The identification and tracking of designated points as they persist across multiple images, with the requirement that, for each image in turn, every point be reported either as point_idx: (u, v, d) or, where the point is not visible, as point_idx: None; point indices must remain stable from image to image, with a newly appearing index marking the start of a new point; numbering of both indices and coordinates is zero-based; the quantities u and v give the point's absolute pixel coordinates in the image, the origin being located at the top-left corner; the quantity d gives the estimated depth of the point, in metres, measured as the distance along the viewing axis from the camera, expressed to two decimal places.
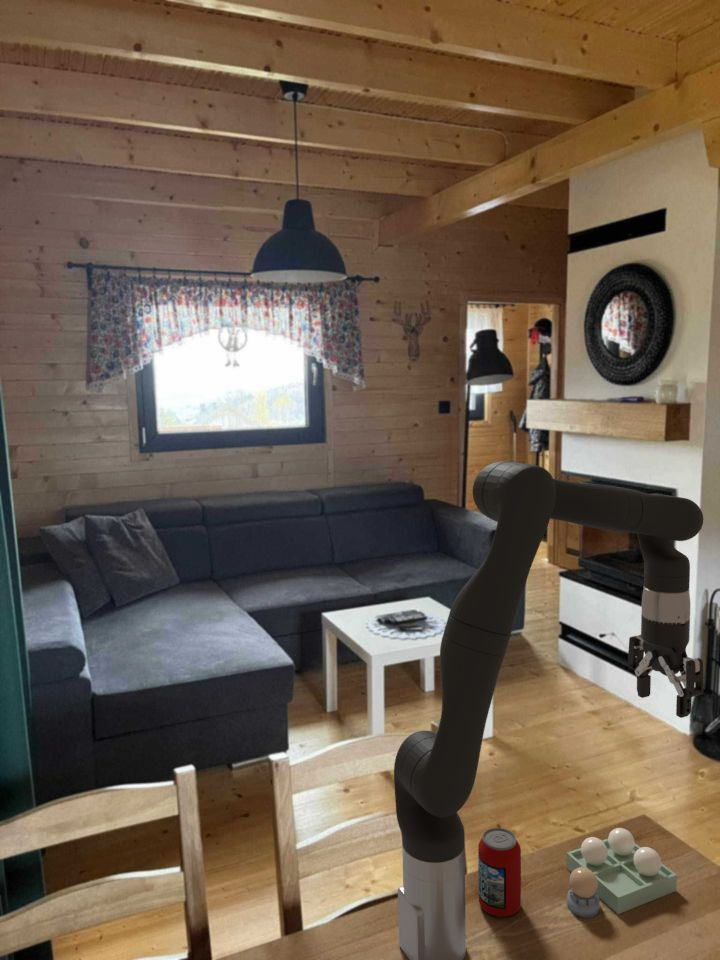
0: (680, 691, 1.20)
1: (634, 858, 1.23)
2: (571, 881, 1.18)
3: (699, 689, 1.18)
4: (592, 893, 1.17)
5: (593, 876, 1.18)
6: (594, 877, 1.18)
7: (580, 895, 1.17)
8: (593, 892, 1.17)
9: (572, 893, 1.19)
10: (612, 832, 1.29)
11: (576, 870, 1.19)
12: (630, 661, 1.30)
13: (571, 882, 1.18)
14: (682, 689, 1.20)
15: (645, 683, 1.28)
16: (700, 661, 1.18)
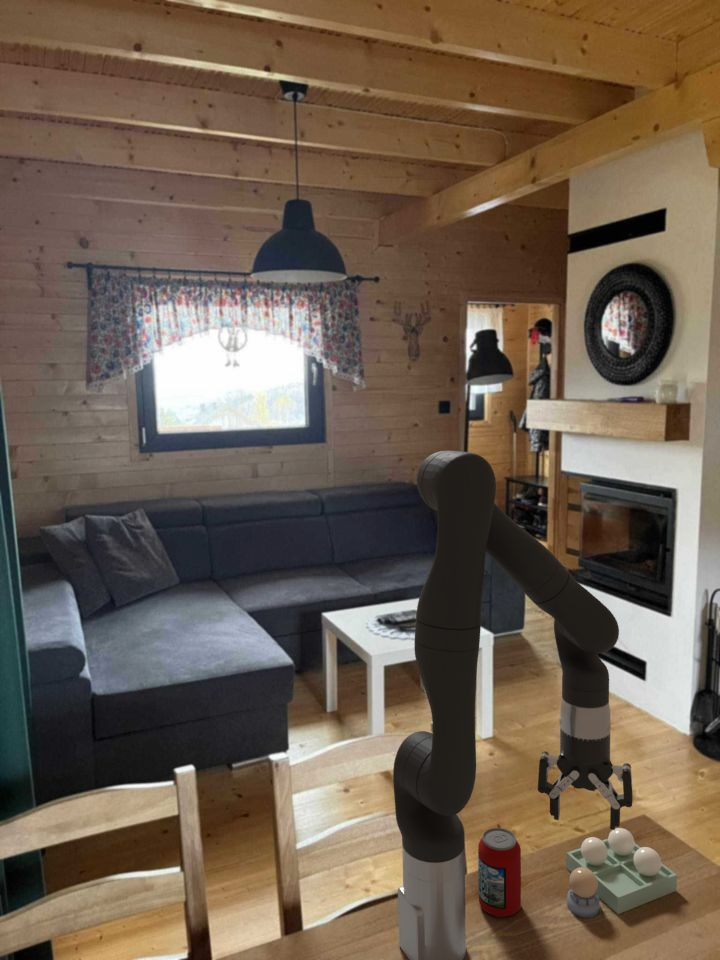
0: None
1: (634, 858, 1.23)
2: (571, 881, 1.18)
3: None
4: (592, 893, 1.17)
5: (593, 876, 1.18)
6: (594, 877, 1.18)
7: (580, 895, 1.17)
8: (593, 892, 1.17)
9: (572, 893, 1.19)
10: (612, 832, 1.29)
11: (576, 870, 1.19)
12: None
13: (571, 882, 1.18)
14: (553, 783, 1.19)
15: None
16: (540, 758, 1.18)
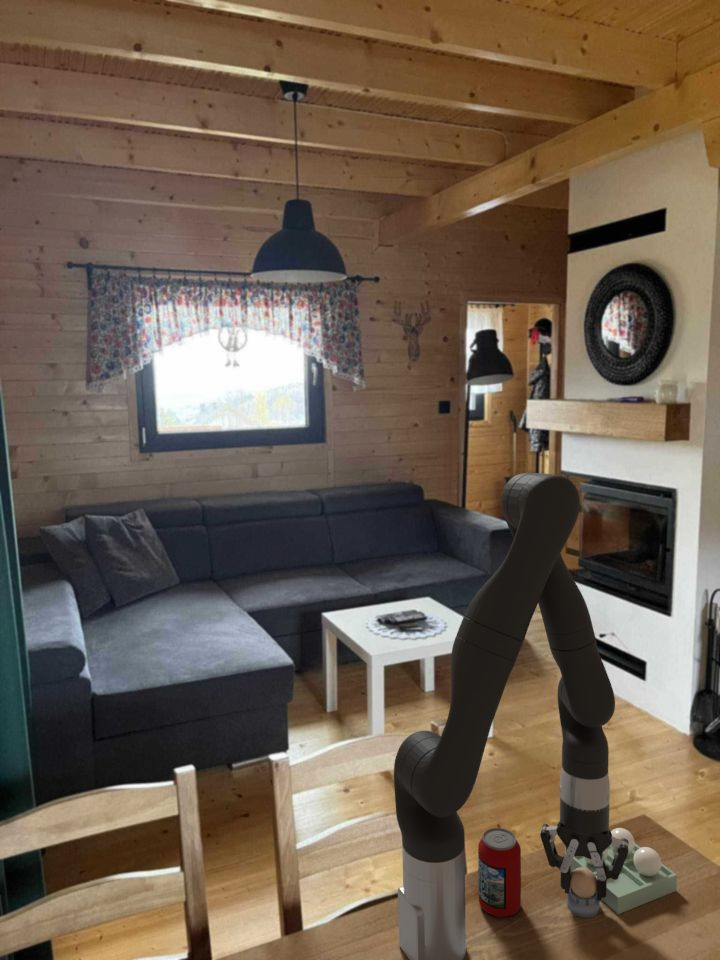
0: None
1: (634, 858, 1.23)
2: (571, 881, 1.18)
3: None
4: (592, 893, 1.17)
5: (593, 876, 1.18)
6: (594, 877, 1.18)
7: (580, 895, 1.17)
8: (593, 892, 1.17)
9: (572, 893, 1.19)
10: (612, 832, 1.29)
11: (576, 870, 1.19)
12: None
13: (571, 882, 1.18)
14: (564, 856, 1.20)
15: None
16: None
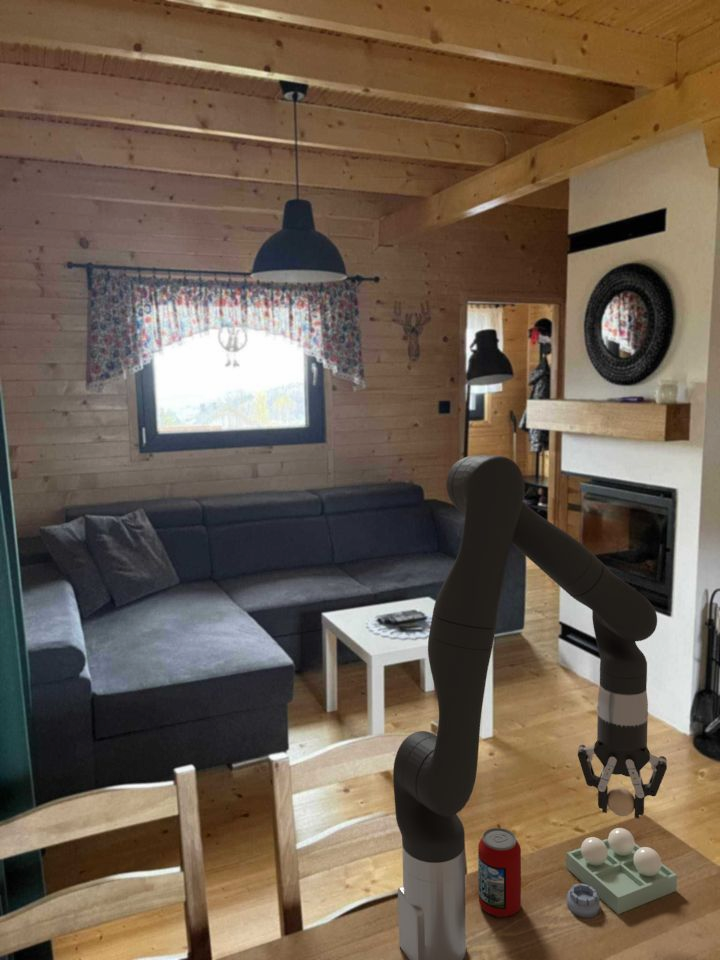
0: None
1: (634, 858, 1.23)
2: (609, 800, 1.19)
3: None
4: (630, 810, 1.17)
5: (631, 794, 1.18)
6: (632, 795, 1.18)
7: (618, 813, 1.18)
8: (631, 809, 1.17)
9: (572, 893, 1.19)
10: (612, 832, 1.29)
11: (613, 789, 1.19)
12: None
13: (609, 800, 1.19)
14: (600, 777, 1.21)
15: None
16: (578, 752, 1.20)
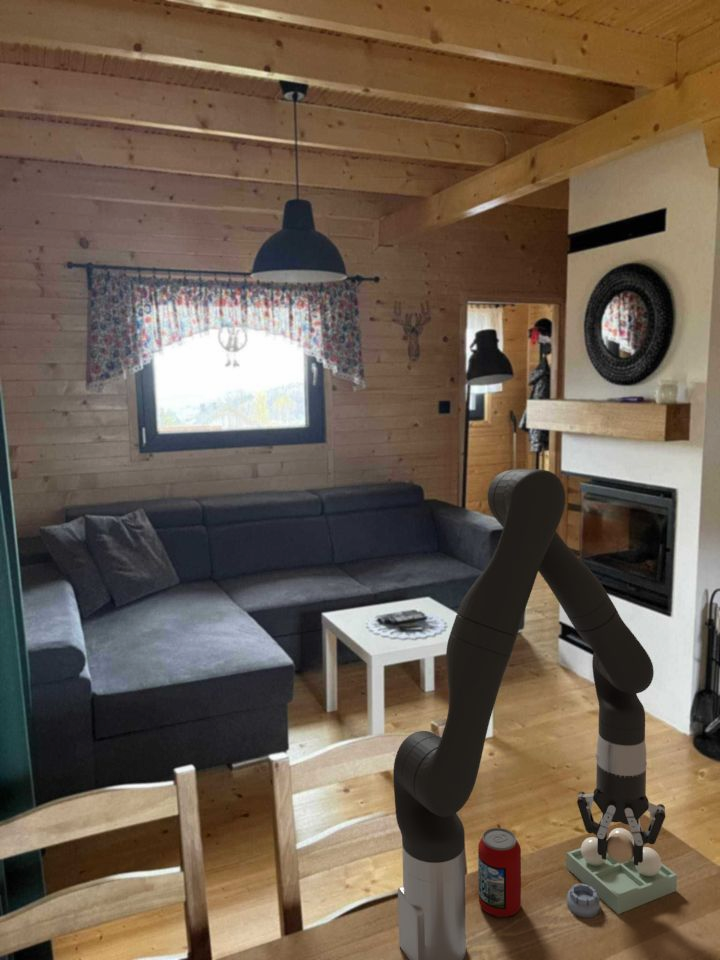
0: None
1: None
2: (608, 847, 1.20)
3: None
4: (629, 858, 1.19)
5: (630, 841, 1.20)
6: (631, 842, 1.20)
7: (617, 860, 1.19)
8: (630, 857, 1.19)
9: (572, 893, 1.19)
10: (612, 832, 1.29)
11: (613, 836, 1.21)
12: None
13: (608, 847, 1.20)
14: (600, 823, 1.22)
15: None
16: (577, 799, 1.21)
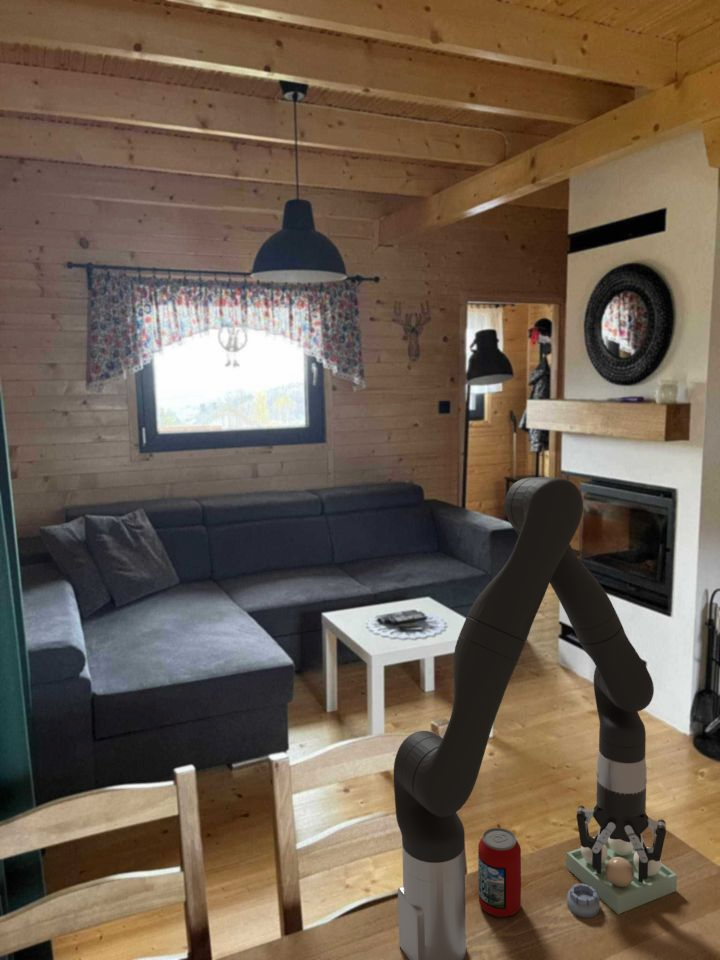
0: (596, 839, 1.23)
1: (634, 858, 1.23)
2: (608, 871, 1.20)
3: None
4: (628, 882, 1.19)
5: (629, 865, 1.20)
6: (630, 866, 1.20)
7: (617, 884, 1.19)
8: (629, 881, 1.19)
9: (572, 893, 1.19)
10: None
11: (612, 859, 1.21)
12: None
13: (607, 871, 1.20)
14: (595, 837, 1.23)
15: None
16: (577, 813, 1.21)
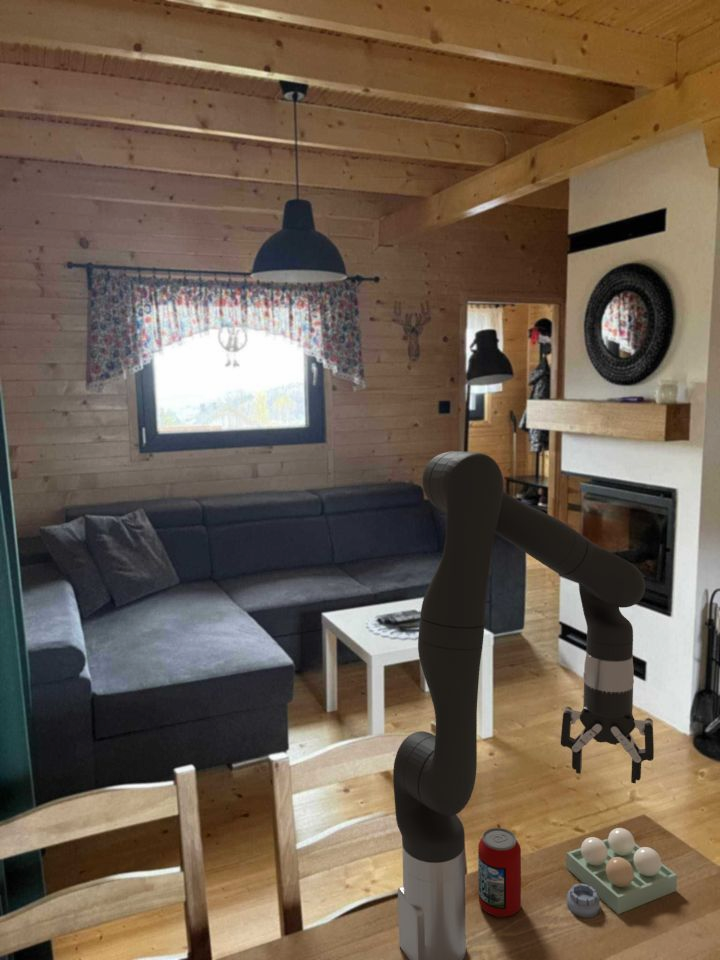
0: (576, 740, 1.23)
1: (634, 858, 1.23)
2: (608, 871, 1.20)
3: None
4: (628, 882, 1.19)
5: (629, 865, 1.20)
6: (630, 866, 1.20)
7: (617, 884, 1.19)
8: (629, 881, 1.19)
9: (572, 893, 1.19)
10: (612, 832, 1.29)
11: (612, 860, 1.21)
12: None
13: (607, 871, 1.20)
14: (575, 738, 1.23)
15: None
16: (564, 712, 1.21)
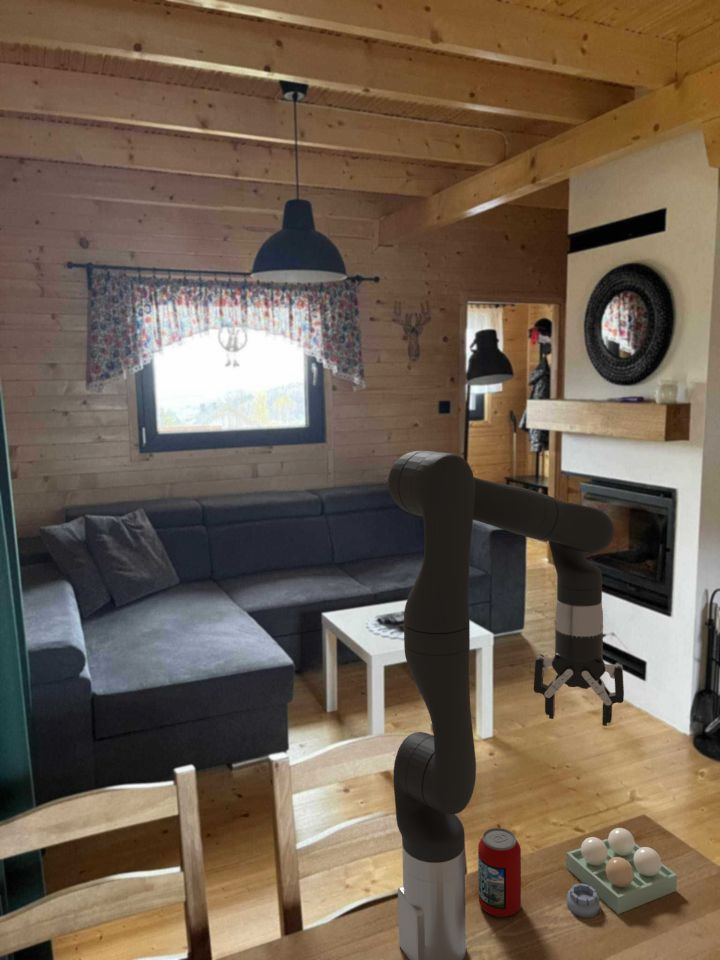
0: (549, 687, 1.25)
1: (634, 858, 1.23)
2: (608, 871, 1.20)
3: None
4: (628, 882, 1.19)
5: (629, 866, 1.20)
6: (630, 867, 1.20)
7: (617, 884, 1.19)
8: (629, 881, 1.19)
9: (572, 893, 1.19)
10: (612, 832, 1.29)
11: (612, 860, 1.21)
12: None
13: (607, 872, 1.20)
14: (548, 685, 1.25)
15: None
16: (536, 659, 1.23)
